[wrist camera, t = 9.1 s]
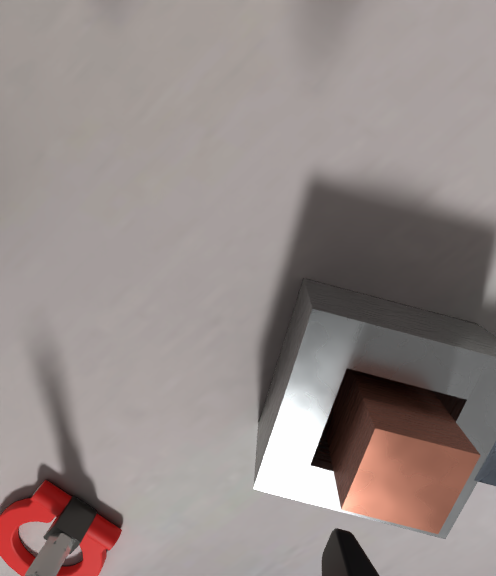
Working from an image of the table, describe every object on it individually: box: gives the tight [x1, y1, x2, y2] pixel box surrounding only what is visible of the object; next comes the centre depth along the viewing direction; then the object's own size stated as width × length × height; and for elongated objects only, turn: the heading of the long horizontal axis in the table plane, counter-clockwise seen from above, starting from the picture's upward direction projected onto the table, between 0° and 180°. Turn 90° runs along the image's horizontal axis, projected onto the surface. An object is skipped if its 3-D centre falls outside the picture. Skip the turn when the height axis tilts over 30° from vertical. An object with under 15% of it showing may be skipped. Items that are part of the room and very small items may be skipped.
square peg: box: [325, 368, 481, 534], centre depth 18 cm, size 4×4×8 cm
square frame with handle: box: [254, 279, 496, 539], centre depth 19 cm, size 20×10×5 cm, turn 76°
